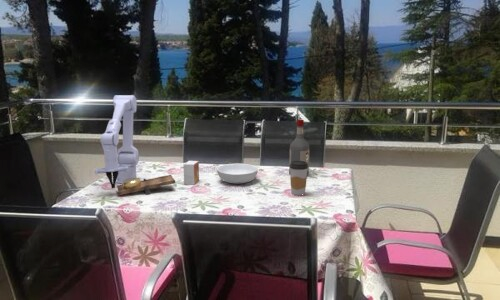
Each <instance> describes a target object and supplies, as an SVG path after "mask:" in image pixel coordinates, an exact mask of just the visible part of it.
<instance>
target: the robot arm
mask: <svg viewBox="0 0 500 300" xmlns="http://www.w3.org/2000/svg"><path fill="white" fill-rule="evenodd" d="M112 102H113V103H112V104H113V107H114V110H113V113H112V114H113V115H112V119H110V120H109V121H108V123H107V126H106V129H105V131H104V133H102V134H101V136H100V144H101V146H102V150H103V157H104V167H101V168H95V169H94V171H95V175H99V174H105V175H106V177H107V179H108V181H109V183H110V187H111V189H115V188H116V183H117V184H120V185H123V181H124V180H126V179H130V178H138V177H137V165H138V164H139V162H140V154H139V149H137V148H136V147H135V146H134V115H135V114H134V113H137V108H138V107H137V105H138V103H137V98H136V96H135V94H131V95H128V94H127V95H126V94H125V95H122V94H121V95H117V94H116V95H114V96H113V100H112ZM121 121H122V123H121ZM121 127H122V146H121V147H119V148H118V145H119V141H120V139H119V138H120V135H119V134H120V133H119V132H120V130H121Z"/></svg>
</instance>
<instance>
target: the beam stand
mask: <svg viewBox="0 0 500 300" xmlns="http://www.w3.org/2000/svg"><path fill="white" fill-rule="evenodd" d="M143 180H147V179H146V178H143ZM150 189H151V188H150ZM150 189H149V185H146V190H143V191H144V194H145V195H146V196H149V195H151V190H150Z"/></svg>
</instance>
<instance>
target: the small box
mask: <svg viewBox="0 0 500 300" xmlns="http://www.w3.org/2000/svg"><path fill="white" fill-rule="evenodd" d="M199 165H200V161H199V160H188V161H187V162H184V163H183V184H184V185H193V186H195V185H196V184H197V183H198V182H199V181H200V167H199Z"/></svg>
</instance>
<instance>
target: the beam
mask: <svg viewBox="0 0 500 300" xmlns="http://www.w3.org/2000/svg"><path fill="white" fill-rule="evenodd" d="M140 182H141V186H140V187H137V188H133V189H128V190H127V189H124V187H123V184H120V185H116V186H117V193H118V195H119V196H121V195H126V194H131V193H135V192H139V191H144V190H146V185H149V189H155V188H160V187H164V186H168V185H172V184H176V180H175V179H174V177H173V176H172V174H168V175H162V176H158V177H157V176H156V177H153V178H148V179H146V180H144V179H143V180H140Z"/></svg>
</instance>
